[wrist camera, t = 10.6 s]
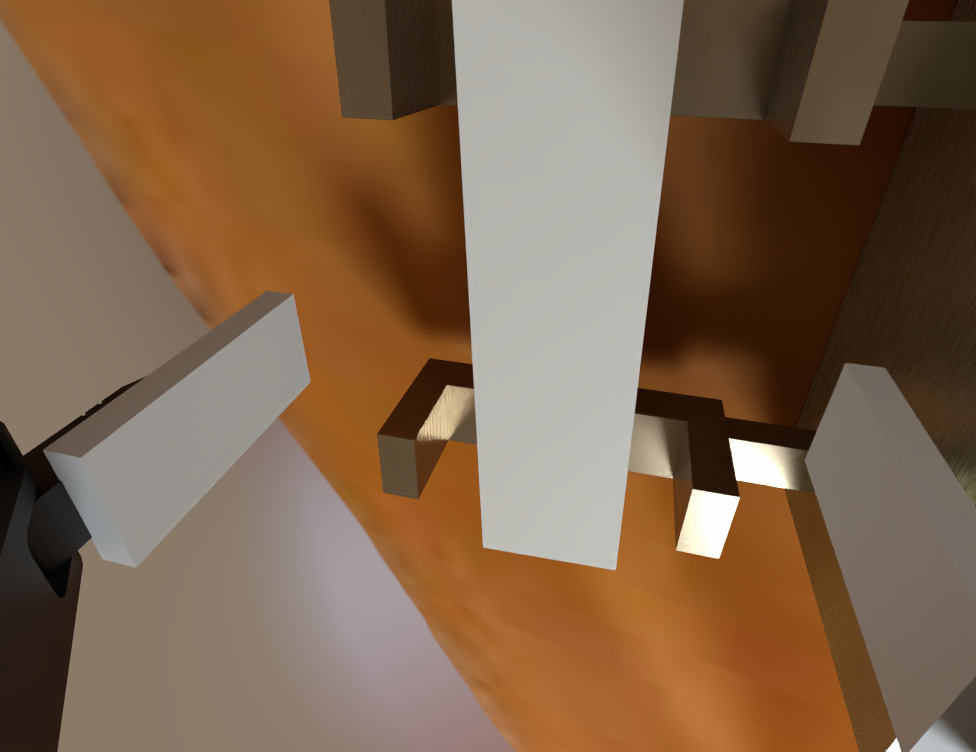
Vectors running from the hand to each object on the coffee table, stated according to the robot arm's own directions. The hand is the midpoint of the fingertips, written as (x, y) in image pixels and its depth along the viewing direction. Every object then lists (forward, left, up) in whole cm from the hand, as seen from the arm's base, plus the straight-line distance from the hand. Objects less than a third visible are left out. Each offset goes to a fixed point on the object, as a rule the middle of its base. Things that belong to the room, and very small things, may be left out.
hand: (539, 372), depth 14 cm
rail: (+1, 0, -8) cm, 8 cm away
